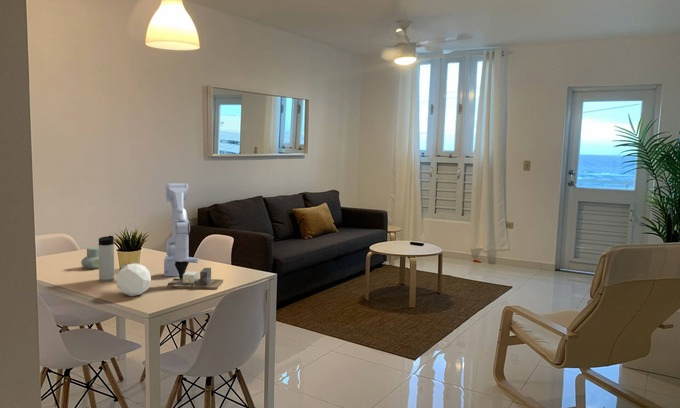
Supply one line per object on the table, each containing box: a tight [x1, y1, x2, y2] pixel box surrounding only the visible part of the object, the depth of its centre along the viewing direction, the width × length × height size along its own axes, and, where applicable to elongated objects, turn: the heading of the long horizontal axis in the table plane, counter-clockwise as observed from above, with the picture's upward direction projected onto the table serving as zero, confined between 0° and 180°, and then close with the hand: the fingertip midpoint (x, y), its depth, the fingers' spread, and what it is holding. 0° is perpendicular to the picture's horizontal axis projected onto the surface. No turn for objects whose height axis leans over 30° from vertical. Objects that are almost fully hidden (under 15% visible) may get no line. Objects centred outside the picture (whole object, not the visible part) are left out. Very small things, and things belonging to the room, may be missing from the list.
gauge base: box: [165, 267, 224, 290], centre depth 228 cm, size 22×13×7 cm, turn 91°
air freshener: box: [80, 246, 99, 270], centre depth 252 cm, size 11×8×10 cm
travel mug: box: [98, 235, 115, 283], centre depth 230 cm, size 6×7×20 cm
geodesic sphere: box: [115, 261, 152, 297], centre depth 210 cm, size 14×14×14 cm
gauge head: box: [183, 270, 199, 283], centre depth 226 cm, size 5×9×4 cm, turn 1°
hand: (181, 278), depth 228 cm, fingers closed
